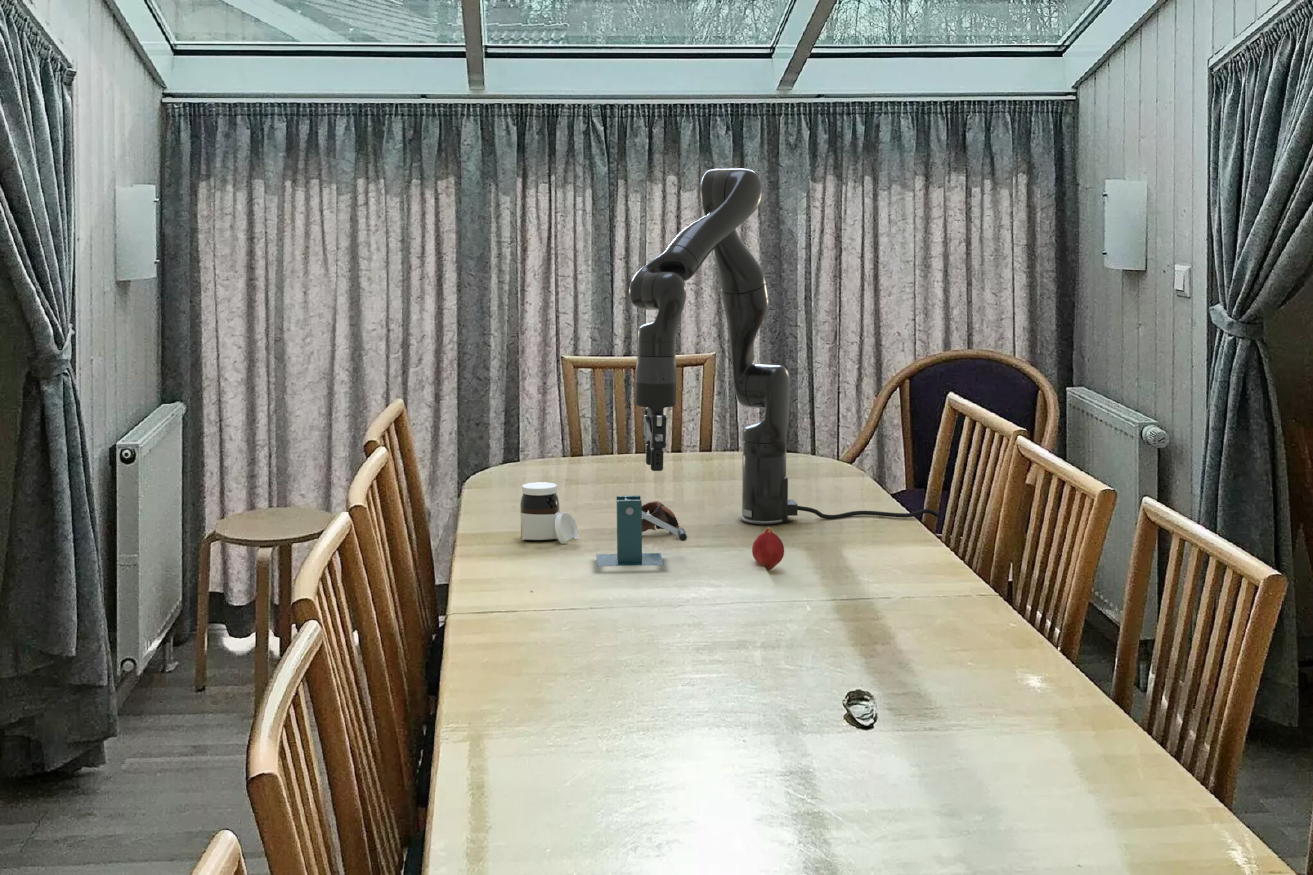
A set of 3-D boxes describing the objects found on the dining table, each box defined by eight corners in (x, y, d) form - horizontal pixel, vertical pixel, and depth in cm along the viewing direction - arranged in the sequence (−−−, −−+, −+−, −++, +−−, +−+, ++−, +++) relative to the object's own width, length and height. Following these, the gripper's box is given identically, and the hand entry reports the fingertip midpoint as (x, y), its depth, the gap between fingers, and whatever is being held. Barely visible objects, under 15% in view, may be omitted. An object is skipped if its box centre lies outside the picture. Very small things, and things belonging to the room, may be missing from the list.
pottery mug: (683, 545, 273) (664, 511, 271) (641, 563, 276) (621, 530, 273) (686, 517, 284) (667, 485, 282) (646, 535, 287) (627, 503, 284)
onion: (749, 566, 254) (750, 524, 253) (780, 565, 255) (781, 523, 253) (754, 574, 248) (755, 531, 247) (786, 573, 249) (786, 530, 248)
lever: (681, 538, 257) (687, 527, 257) (683, 544, 252) (689, 533, 252) (618, 507, 256) (624, 495, 255) (619, 512, 251) (625, 501, 250)
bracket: (660, 559, 260) (660, 492, 258) (663, 571, 251) (663, 502, 249) (596, 561, 259) (595, 493, 257) (597, 572, 250) (596, 503, 248)
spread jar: (521, 538, 278) (520, 481, 277) (577, 536, 279) (577, 480, 277) (520, 551, 267) (519, 492, 265) (579, 550, 267) (578, 491, 266)
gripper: (681, 383, 248) (679, 473, 250) (671, 378, 262) (669, 462, 264) (639, 383, 247) (637, 473, 249) (632, 377, 261) (630, 462, 263)
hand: (654, 467), depth 257 cm, fingers open, 8 cm apart
